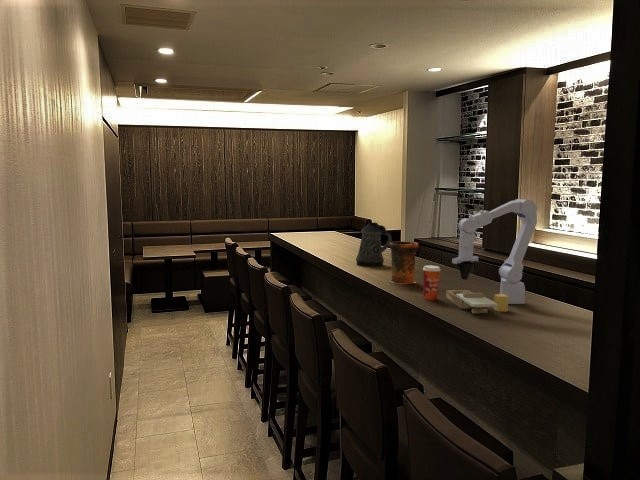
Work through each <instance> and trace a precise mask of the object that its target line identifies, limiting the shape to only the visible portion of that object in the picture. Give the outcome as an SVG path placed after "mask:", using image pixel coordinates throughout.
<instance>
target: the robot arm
mask: <svg viewBox="0 0 640 480" xmlns="http://www.w3.org/2000/svg"><path fill="white" fill-rule="evenodd" d="M538 209H539V208H538V206H537V204H536V203H535V201H533V200H532V199H524V198H523V199H522V198H516V199H514V200H510V201H508V202H506V203H504V204H501V205H500V206H498V207H496V208H494V209H492V210H490V211H488V210H483V209H482V210H479V212H478V213H475V214H473V215H469V216H468V217H467V218H461V219H460V221H459V222H458V224H457V228H458V230H459V240H458V241H459V242H458V245H459V246H458V257H455V258H452V260H451V263H452V264H455V265H456V266H457V268H458V269H459V273H460V278H461V280H464V281H465V280H466V281H467V280H468V279H469V275H470V272H471V271H472V269H473V267H474V266H475V265H474V264H475V263H474V262H479V256H476V255H474V242H475V241H474V240H475V237H474V236H475V232H476V231H477V230H478V229H480V228H482V227H484V226H486V225H487V226H488V224H491V223H492V222H493V219H496V218H498V217H501V216H503V215H506V214H508V213H514V214H515V215H516V216H518V217H519V219H520V221H521V225H520V228H519V231H518V233H517V236H516V238H515V241H514V244H513V246H512V249H511V252H510V253H509V257H508V258H506V259H505V260H504V262H503V264H502V265H501V266H500V267H499V268H498V275H499V276H500V286H499V287H500V289H499V290H500V291H499V294H504V295H506V296H508V305H525V304H526V302H525V296H526V295H525V294H526V287H525V283H524V282H522V281H521V280H522V278H523V270H524V264H523V260H524V257H525V255H526V253H527V249H528V247H529V244H530V242H531V239H532V237H533V234H534V232H535V229H536V228H537V227H536V226H537V225H538V215H537V213H538V212H537V211H538Z"/></svg>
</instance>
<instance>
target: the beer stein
mask: <svg viewBox="0 0 640 480" xmlns="http://www.w3.org/2000/svg"><path fill="white" fill-rule="evenodd" d="M360 231H361V237H360V238H361V240H360V244H359V249H358V253H357V256H356V257H355V258H356V259H355V261H356V265H357V266H359V267H360V266H361V267H368V268H369V267H370V268H375V267H376V268H377V267H382V266H384V260H385V258H384V256H383V252H384V251H386V250H387V249H388V248H389V247H390V245H389V244H390V243H391V242H392V234H391V233H392V232H390V231H388V230H387V229H386V227H385V226H384V225H380V224H378V222H368V224H366V225H365V226H364V227H363V228H362V229H361V230H360ZM381 236H386V237H387V240H386V242H385V244H384V245H383V246H382V238H381Z"/></svg>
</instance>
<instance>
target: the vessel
mask: <svg viewBox="0 0 640 480" xmlns="http://www.w3.org/2000/svg"><path fill="white" fill-rule="evenodd" d="M389 248H390V253H391V254H390V256H391V268H390V269H391V279H390V280H389V281H388V283H392V284H397V285H409V284H416V283H417V282H416V281H415V269H416V268H415V267H416V254H417V250H418V249H419V243H418V242H414V241H391V243H390V244H389ZM414 281H415V282H414Z"/></svg>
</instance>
